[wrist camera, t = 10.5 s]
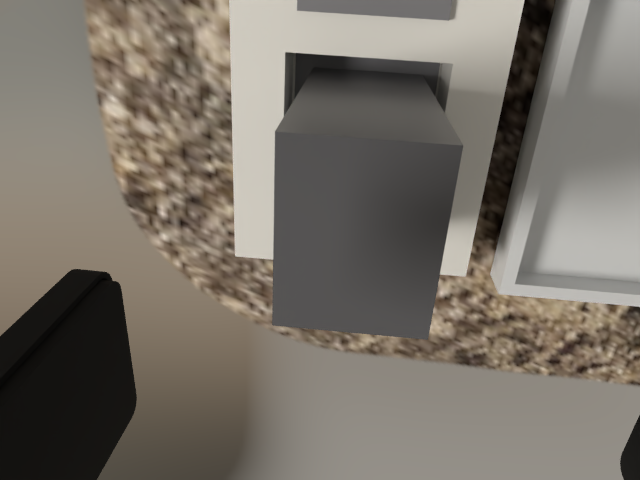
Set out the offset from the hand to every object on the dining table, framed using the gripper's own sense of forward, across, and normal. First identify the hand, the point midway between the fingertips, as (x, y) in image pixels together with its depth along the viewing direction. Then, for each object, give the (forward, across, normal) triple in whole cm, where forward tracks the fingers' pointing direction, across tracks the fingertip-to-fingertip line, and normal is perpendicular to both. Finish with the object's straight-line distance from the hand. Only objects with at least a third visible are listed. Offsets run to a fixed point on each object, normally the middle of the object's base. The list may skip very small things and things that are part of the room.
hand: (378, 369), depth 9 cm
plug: (+15, +1, 0) cm, 15 cm away
